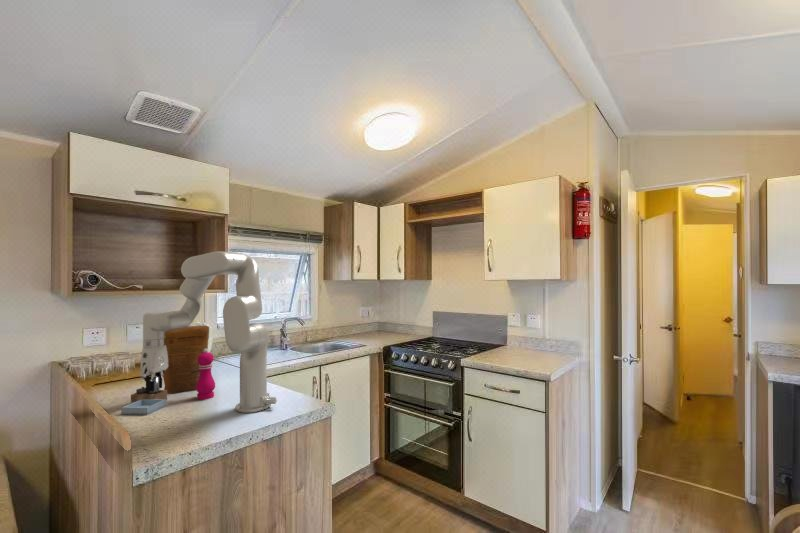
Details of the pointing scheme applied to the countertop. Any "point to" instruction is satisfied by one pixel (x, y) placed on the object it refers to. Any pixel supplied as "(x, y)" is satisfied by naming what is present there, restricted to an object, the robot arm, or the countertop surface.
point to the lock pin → (155, 385)
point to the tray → (144, 406)
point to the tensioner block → (147, 395)
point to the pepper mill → (205, 376)
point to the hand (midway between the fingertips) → (154, 389)
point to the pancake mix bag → (184, 357)
